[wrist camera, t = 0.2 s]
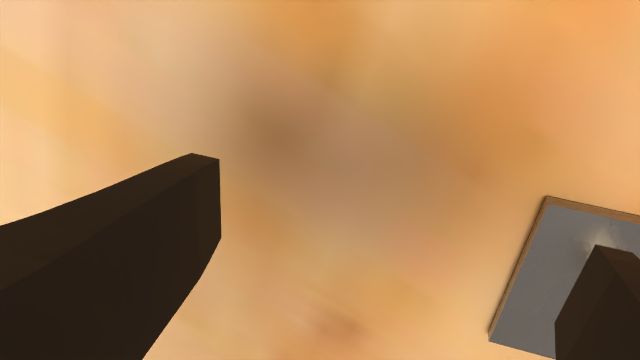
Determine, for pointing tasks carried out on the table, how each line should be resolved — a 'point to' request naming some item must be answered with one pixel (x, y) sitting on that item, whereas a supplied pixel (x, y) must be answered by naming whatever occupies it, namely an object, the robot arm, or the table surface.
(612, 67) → the table surface
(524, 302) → the panel
